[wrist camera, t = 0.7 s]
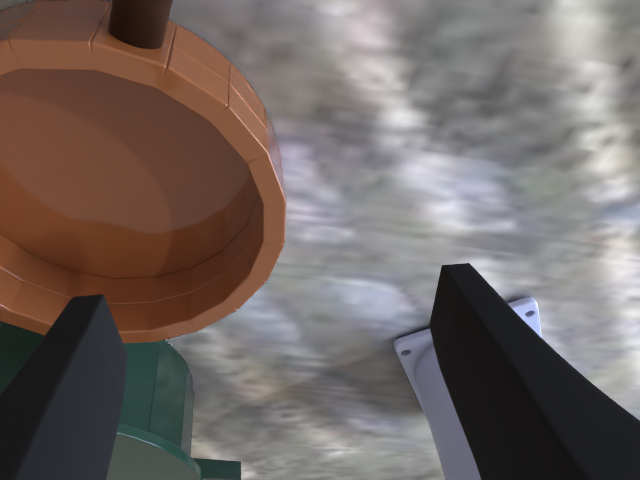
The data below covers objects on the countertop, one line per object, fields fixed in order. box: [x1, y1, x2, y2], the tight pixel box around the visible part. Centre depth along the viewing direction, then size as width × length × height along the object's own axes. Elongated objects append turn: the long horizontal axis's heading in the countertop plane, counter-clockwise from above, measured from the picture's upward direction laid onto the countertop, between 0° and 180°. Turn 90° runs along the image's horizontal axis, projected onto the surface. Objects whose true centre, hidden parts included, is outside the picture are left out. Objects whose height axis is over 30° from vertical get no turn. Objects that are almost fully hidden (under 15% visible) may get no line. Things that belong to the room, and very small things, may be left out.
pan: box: [0, 0, 286, 344], centre depth 19 cm, size 13×13×4 cm
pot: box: [0, 321, 241, 480], centre depth 27 cm, size 13×18×6 cm
